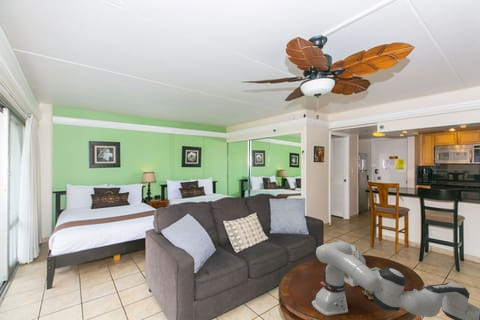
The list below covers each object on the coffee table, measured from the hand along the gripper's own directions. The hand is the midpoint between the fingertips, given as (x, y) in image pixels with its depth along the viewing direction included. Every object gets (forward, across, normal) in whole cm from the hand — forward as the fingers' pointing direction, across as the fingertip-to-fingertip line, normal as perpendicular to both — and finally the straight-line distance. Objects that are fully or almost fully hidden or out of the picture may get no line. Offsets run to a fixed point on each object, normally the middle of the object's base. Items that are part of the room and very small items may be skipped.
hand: (418, 288), depth 143 cm
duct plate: (+32, +7, -8) cm, 34 cm away
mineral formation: (+13, -22, -9) cm, 27 cm away
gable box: (+40, -18, -9) cm, 45 cm away
